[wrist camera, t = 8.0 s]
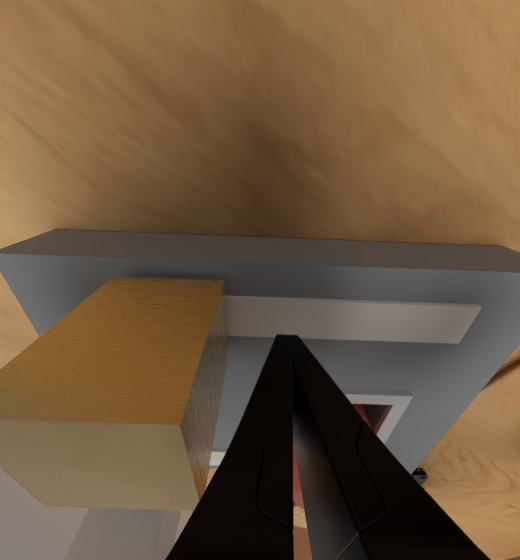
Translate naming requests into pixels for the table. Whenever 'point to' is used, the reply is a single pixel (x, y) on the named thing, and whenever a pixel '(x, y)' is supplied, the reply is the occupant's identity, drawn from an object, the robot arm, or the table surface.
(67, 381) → the brass slider
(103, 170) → the table surface
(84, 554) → the ivory slider
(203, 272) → the panel
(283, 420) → the robot arm
